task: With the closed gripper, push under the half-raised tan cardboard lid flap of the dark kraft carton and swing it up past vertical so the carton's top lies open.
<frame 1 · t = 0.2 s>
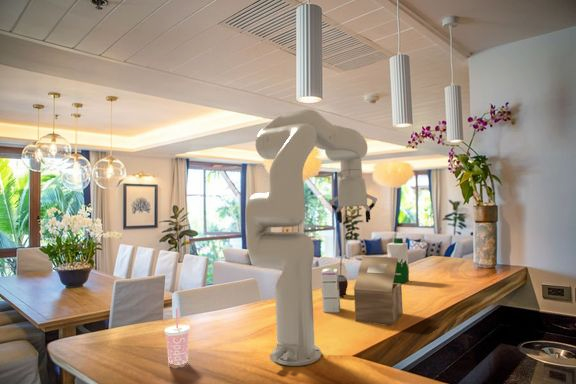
hand: (353, 222, 137), 31 cm above the kitchen counter, fingers open, 9 cm apart
beverage cup: (178, 365, 95), on the kitchen counter
carton: (379, 317, 126), on the kitchen counter
mate gourd: (339, 295, 157), on the kitchen counter
syrup box: (331, 310, 136), on the kitchen counter
carton flap: (376, 273, 124), point 15 cm above the kitchen counter, hinge at 40.0°
milk carton: (398, 282, 178), on the kitchen counter
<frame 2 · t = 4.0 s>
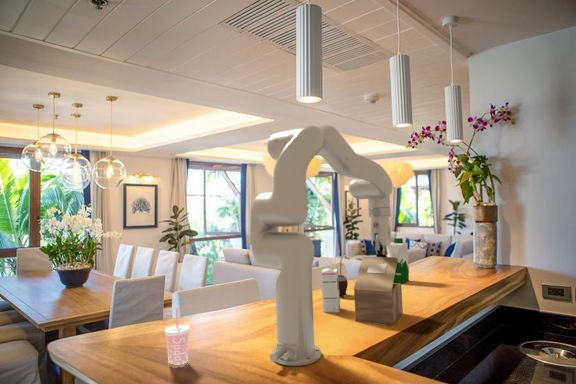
hand: (382, 265, 131), 16 cm above the kitchen counter, fingers closed
carton flap: (376, 273, 124), point 15 cm above the kitchen counter, hinge at 40.0°, touching gripper
everything else where it was.
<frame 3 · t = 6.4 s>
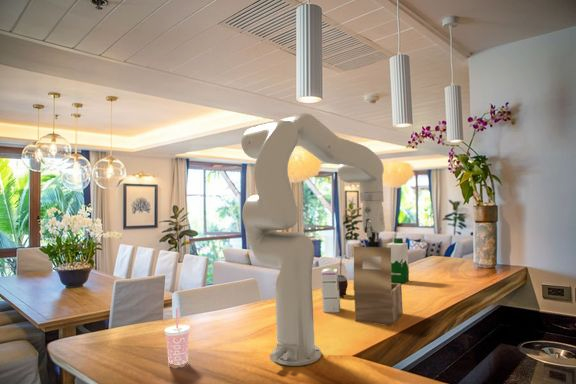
hand: (374, 253, 124), 21 cm above the kitchen counter, fingers closed
carton flap: (372, 269, 121), point 17 cm above the kitchen counter, hinge at 80.4°, touching gripper
everything else where it was.
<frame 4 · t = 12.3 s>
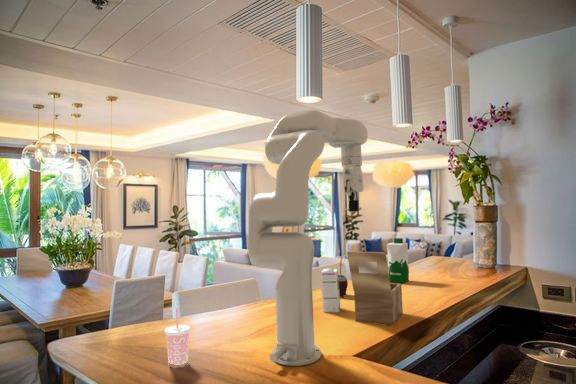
hand: (353, 211, 142), 35 cm above the kitchen counter, fingers closed
carton flap: (368, 272, 118), point 16 cm above the kitchen counter, hinge at 109.1°
everything else where it was.
at the end: carton flap at +109° (first picture: +40°) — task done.
